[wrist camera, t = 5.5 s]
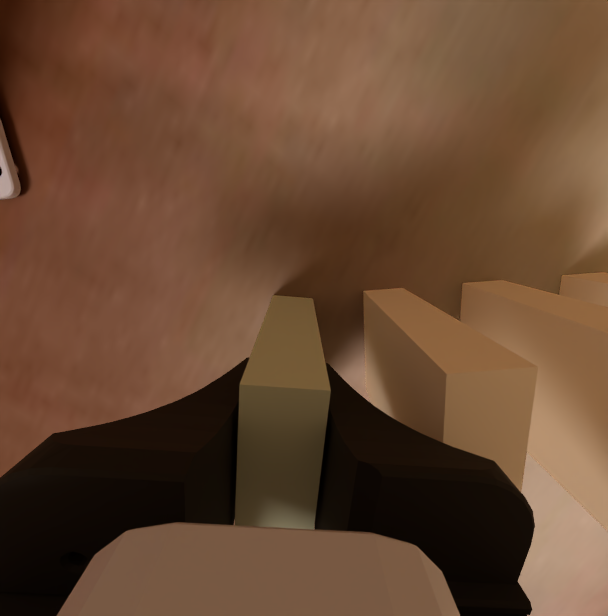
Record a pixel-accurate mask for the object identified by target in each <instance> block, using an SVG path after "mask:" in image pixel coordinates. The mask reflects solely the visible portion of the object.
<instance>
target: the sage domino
mask: <svg viewBox="0 0 608 616" xmlns="http://www.w3.org/2000/svg"><path fill="white" fill-rule="evenodd" d="M330 393H331V389H330V384H329V379H328V374H327V369H326V364H325V358H324V353H323V348H322V343H321V338H320V333H319V328H318V322H317V317H316V312H315V307H314V302H313V298H303V297H291V296H278V295H273V297H272V300H271V302H270V305H269V308H268V310H267V313H266V316H265V318H264V321H263V324H262V326H261V329H260V331H259V334H258V337H257V339H256V342H255V345H254V347H253V350H252V353H251V355H250V358H249V361H248V363H247V366H246V369H245V371H244V374H243V377H242V379H241V382H240V386H239V415H238V444H237V473H236V502H235V525H240V526H259V527H278V528H297V529H314V524H315V516H316V507H317V499H318V491H319V483H320V475H321V466H322V458H323V450H324V442H325V434H326V426H327V417H328V409H329V401H330Z"/></svg>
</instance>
